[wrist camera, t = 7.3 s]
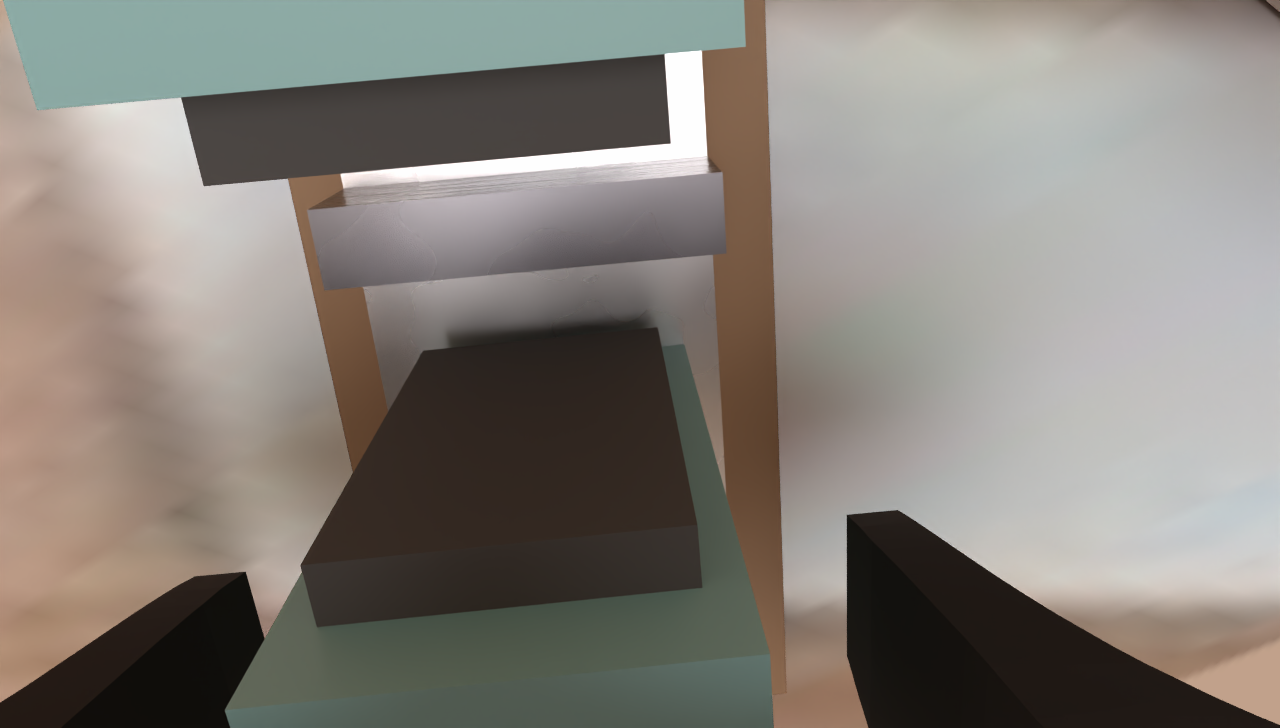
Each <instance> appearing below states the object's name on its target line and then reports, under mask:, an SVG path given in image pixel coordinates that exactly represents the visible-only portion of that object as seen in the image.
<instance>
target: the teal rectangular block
mask: <svg viewBox="0 0 1280 728" xmlns="http://www.w3.org/2000/svg"><path fill="white" fill-rule="evenodd" d="M301 569H302V573H301V575H300V577H299V579H298V580H297V582H296V584H295V586H294V588H293V589H292V591H291V593H290V595H289V596H288V598H287V600H286V602H285V604H284V605H283V607H282V609H281V611H280V613H279V614H278V616H277V618H276V620H275V621H274V623H273V625H272V627H271V629H270V630H269V632H268V634H267V636H266V637H265V639H264V641H263V643H262V645H261V646H260V648H259V650H258V652H257V654H256V655H255V657H254V659H253V661H252V662H251V664H250V666H249V668H248V670H247V671H246V673H245V675H244V677H243V679H242V680H241V682H240V684H239V686H238V687H237V689H236V691H235V693H234V695H233V696H232V698H231V700H230V702H229V703H228V705H227V707H226V709H225V713H226V716H227V719H228V722H229V725H230V728H774V725H773V704H772V683H771V662H770V652H769V648H768V645H767V641H766V637H765V634H764V630H763V626H762V623H761V619H760V616H759V612H758V608H757V605H756V601H755V598H754V594H753V590H752V587H751V583H750V580H749V576H748V572H747V569H746V565H745V562H744V558H743V554H742V551H741V547H740V543H739V540H738V536H737V533H736V529H735V525H734V522H733V518H732V515H731V511H730V507H729V504H728V500H727V497H726V493H725V489H724V486H723V482H722V478H721V475H720V471H719V468H718V464H717V460H716V457H715V453H714V450H713V446H712V442H711V439H710V435H709V432H708V428H707V424H706V421H705V417H704V414H703V410H702V406H701V403H700V399H699V395H698V392H697V388H696V385H695V381H694V377H693V374H692V370H691V367H690V363H689V359H688V356H687V352H686V349H685V345H684V344H682V345H672V346H661V341H660V336H659V331H658V327H654V328H644V329H634V330H624V331H614V332H604V333H594V334H584V335H574V336H564V337H554V338H544V339H534V340H524V341H514V342H504V343H494V344H484V345H474V346H464V347H454V348H444V349H434V350H424V351H423V352H422V353H421V355H420V357H419V359H418V360H417V362H416V364H415V366H414V367H413V369H412V371H411V373H410V374H409V376H408V378H407V380H406V381H405V383H404V385H403V387H402V388H401V390H400V392H399V394H398V395H397V397H396V399H395V401H394V402H393V404H392V406H391V408H390V409H389V411H388V413H387V415H386V416H385V418H384V420H383V422H382V423H381V425H380V427H379V429H378V430H377V432H376V434H375V436H374V437H373V439H372V441H371V443H370V444H369V446H368V448H367V450H366V451H365V453H364V455H363V457H362V458H361V460H360V462H359V464H358V465H357V467H356V469H355V471H354V472H353V474H352V476H351V478H350V479H349V481H348V483H347V485H346V486H345V488H344V490H343V492H342V493H341V495H340V497H339V499H338V500H337V502H336V504H335V506H334V507H333V509H332V511H331V513H330V514H329V516H328V518H327V520H326V521H325V523H324V525H323V527H322V528H321V530H320V532H319V534H318V535H317V537H316V539H315V541H314V542H313V544H312V546H311V548H310V549H309V551H308V553H307V555H306V556H305V558H304V560H303V562H302V563H301Z"/></svg>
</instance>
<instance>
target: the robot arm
mask: <svg viewBox="0 0 1280 728" xmlns="http://www.w3.org/2000/svg"><path fill="white" fill-rule="evenodd" d="M263 641H264V635H263V632H262V628H261V625H260V621H259V618H258V614H257V610H256V607H255V603H254V600H253V596H252V593H251V589H250V586H249V582H248V578H247V575H246V572H238V573H228V574H217V575H206V576H196V577H193V578H191V579H189V580H188V581H186V582H184V583H182V584H180V585H178V586H177V587H175V588H173V589H172V590H170V591H168V592H167V593H165V594H163V595H162V596H160V597H159V598H157V599H155V600H154V601H152V602H151V603H149V604H148V605H146V606H145V607H143V608H142V609H140V610H139V611H137V612H136V613H134V614H133V615H131V616H130V617H128V618H127V619H125V620H124V621H122V622H121V623H119V624H118V625H116V626H115V627H113V628H112V629H110V630H109V631H107V632H106V633H104V634H103V635H101V636H100V637H98V638H97V639H95V640H94V641H92V642H91V643H89V644H88V645H87V646H85V647H84V648H82V649H81V650H79V651H78V652H76V653H75V654H73V655H72V656H70V657H69V658H67V659H66V660H64V661H63V662H61V663H60V664H58V665H57V666H55V667H54V668H52V669H51V670H49V671H48V672H46V673H45V674H44V675H42V676H41V677H39V678H38V679H36V680H35V681H33V682H32V683H30V684H29V685H27V686H26V687H24V688H23V689H21V690H19V691H18V692H16V693H15V694H13V695H12V696H10V697H8V698H7V699H5V700H4V701H2V702H1V703H0V728H230V725H229V722H228V719H227V716H226V713H225V709H226V707H227V705H228V703H229V702H230V700H231V698H232V696H233V695H234V693H235V691H236V689H237V687H238V686H239V684H240V682H241V680H242V679H243V677H244V675H245V673H246V671H247V670H248V668H249V666H250V664H251V662H252V661H253V659H254V657H255V655H256V654H257V652H258V650H259V648H260V646H261V645H262V643H263ZM847 657H848V660H849V664H850V667H851V671H852V674H853V678H854V681H855V685H856V688H857V692H858V695H859V698H860V702H861V705H862V708H863V711H864V715H865V718H866V721H867V724H868V727H869V728H1280V725H1278V724H1275V723H1273V722H1271V721H1268V720H1266V719H1263V718H1261V717H1259V716H1256V715H1254V714H1252V713H1249V712H1247V711H1245V710H1243V709H1240V708H1238V707H1236V706H1233V705H1231V704H1229V703H1226V702H1224V701H1222V700H1220V699H1218V698H1215V697H1213V696H1211V695H1209V694H1207V693H1205V692H1203V691H1201V690H1199V689H1197V688H1195V687H1192V686H1191V685H1188V684H1186V683H1184V682H1182V681H1180V680H1178V679H1176V678H1174V677H1172V676H1170V675H1168V674H1166V673H1164V672H1162V671H1160V670H1158V669H1156V668H1153V667H1151V666H1149V665H1147V664H1145V663H1143V662H1141V661H1139V660H1138V659H1136V658H1134V657H1132V656H1130V655H1128V654H1126V653H1124V652H1122V651H1121V650H1119V649H1117V648H1115V647H1113V646H1111V645H1109V644H1108V643H1106V642H1104V641H1102V640H1101V639H1099V638H1097V637H1095V636H1094V635H1092V634H1090V633H1089V632H1087V631H1085V630H1083V629H1082V628H1080V627H1078V626H1076V625H1075V624H1073V623H1071V622H1069V621H1068V620H1066V619H1064V618H1062V617H1061V616H1059V615H1057V614H1056V613H1054V612H1052V611H1051V610H1049V609H1047V608H1046V607H1044V606H1043V605H1041V604H1039V603H1038V602H1036V601H1034V600H1033V599H1031V598H1030V597H1028V596H1026V595H1025V594H1023V593H1022V592H1020V591H1019V590H1017V589H1015V588H1014V587H1012V586H1011V585H1009V584H1008V583H1006V582H1005V581H1003V580H1002V579H1000V578H999V577H997V576H995V575H994V574H992V573H991V572H989V571H988V570H986V569H985V568H983V567H982V566H980V565H979V564H977V563H976V562H974V561H973V560H972V559H970V558H969V557H967V556H966V555H964V554H963V553H961V552H960V551H958V550H957V549H955V548H954V547H952V546H951V545H950V544H948V543H947V542H945V541H944V540H942V539H941V538H939V537H938V536H936V535H935V534H934V533H932V532H931V531H929V530H928V529H926V528H925V527H923V526H922V525H920V524H919V523H917V522H916V521H914V520H913V519H911V518H910V517H908V516H906V515H905V514H903V513H902V512H900V511H898V510H894V511H884V512H873V513H862V514H852V515H847Z"/></svg>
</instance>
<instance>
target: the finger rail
mask: <svg viewBox="0 0 1280 728" xmlns="http://www.w3.org/2000/svg"><path fill="white" fill-rule="evenodd" d="M3 2H4V5H5V8H6V11H7V15H8V18H9V21H10V24H11V27H12V31H13V34H14V37H15V40H16V43H17V47H18V50H19V53H20V56H21V60H22V63H23V66H24V69H25V72H26V76H27V79H28V82H29V85H30V88H31V92H32V95H33V98H34V101H35V104H36V108H37V110H45V109H56V108H67V107H79V106H90V105H101V104H112V103H123V102H134V101H146V100H157V99H168V98H179V97H181V99H182V103H183V107H184V110H185V114H186V118H187V122H188V126H189V130H190V134H191V138H192V142H193V146H194V150H195V154H196V158H197V161H198V165H199V169H200V173H201V177H202V181H203V185H204V186H211V185H222V184H233V183H244V182H255V181H266V180H277V179H288V181H289V185H290V190H291V194H292V199H293V203H294V208H295V212H296V217H297V222H298V226H299V231H300V235H301V240H302V244H303V249H304V253H305V258H306V262H307V267H308V271H309V276H310V280H311V285H312V289H313V294H314V298H315V303H316V307H317V312H318V317H319V321H320V326H321V330H322V335H323V339H324V344H325V348H326V353H327V357H328V362H329V366H330V371H331V375H332V380H333V384H334V389H335V393H336V398H337V402H338V407H339V412H340V416H341V421H342V425H343V430H344V434H345V439H346V443H347V448H348V452H349V457H350V461H351V466H352V470H353V472H354V471H355V469H356V467H357V465H358V464H359V462H360V460H361V458H362V457H363V455H364V453H365V451H366V450H367V448H368V446H369V444H370V443H371V441H372V439H373V437H374V436H375V434H376V432H377V430H378V429H379V427H380V425H381V423H382V422H383V420H384V418H385V416H386V415H387V413H388V411H389V409H390V408H391V406H392V404H393V402H394V401H395V399H396V397H397V395H398V394H399V392H400V390H401V388H402V387H403V385H404V383H405V381H406V380H407V378H408V376H409V374H410V373H411V371H412V369H413V367H414V366H415V364H416V362H417V360H418V359H419V357H420V355H421V353H422V352H423V351H424V350H434V349H444V348H454V347H464V346H474V345H484V344H494V343H504V342H514V341H524V340H534V339H544V338H554V337H564V336H574V335H584V334H594V333H604V332H614V331H624V330H634V329H644V328H654V327H658V331H659V336H660V341H661V346H672V345H682V344H684V345H685V349H686V352H687V356H688V359H689V363H690V367H691V370H692V374H693V377H694V381H695V385H696V388H697V392H698V395H699V399H700V403H701V406H702V410H703V414H704V417H705V421H706V424H707V428H708V432H709V435H710V439H711V442H712V446H713V450H714V453H715V457H716V460H717V464H718V468H719V471H720V475H721V478H722V482H723V486H724V489H725V493H726V497H727V500H728V504H729V507H730V511H731V515H732V518H733V522H734V525H735V529H736V533H737V536H738V540H739V543H740V547H741V551H742V554H743V558H744V562H745V565H746V569H747V572H748V576H749V580H750V583H751V587H752V590H753V594H754V598H755V601H756V605H757V608H758V612H759V616H760V619H761V623H762V626H763V630H764V634H765V637H766V641H767V645H768V648H769V652H770V662H771V683H772V695H774V694H784V693H787V692H786V661H785V629H784V597H783V566H782V534H781V502H780V471H779V439H778V407H777V376H776V344H775V312H774V280H773V249H772V217H771V185H770V154H769V122H768V90H767V59H766V27H765V0H3Z"/></svg>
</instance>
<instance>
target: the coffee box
mask: <svg viewBox="0 0 1280 728" xmlns="http://www.w3.org/2000/svg"><path fill="white" fill-rule="evenodd" d="M1266 1H1267V2H1268V3H1269V4H1270V5H1272V6H1273V7H1274V8H1275V9H1277V10H1278V11H1279V12H1280V0H1266Z"/></svg>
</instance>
